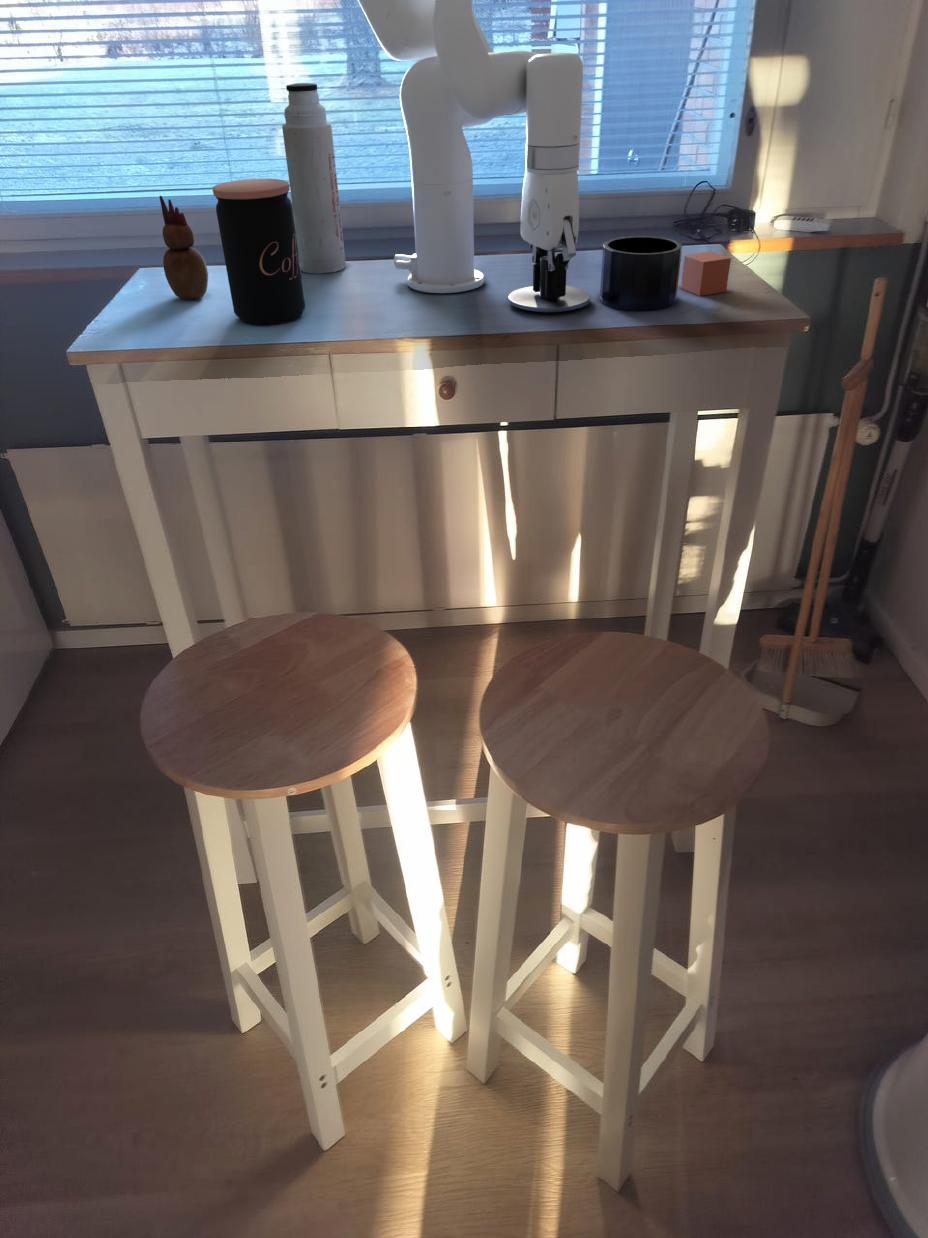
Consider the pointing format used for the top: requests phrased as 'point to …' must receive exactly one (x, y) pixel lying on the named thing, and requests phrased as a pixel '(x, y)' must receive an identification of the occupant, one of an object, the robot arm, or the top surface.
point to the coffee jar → (260, 250)
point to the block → (705, 273)
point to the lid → (540, 303)
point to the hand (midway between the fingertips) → (549, 292)
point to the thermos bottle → (313, 181)
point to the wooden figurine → (182, 256)
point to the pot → (640, 273)
